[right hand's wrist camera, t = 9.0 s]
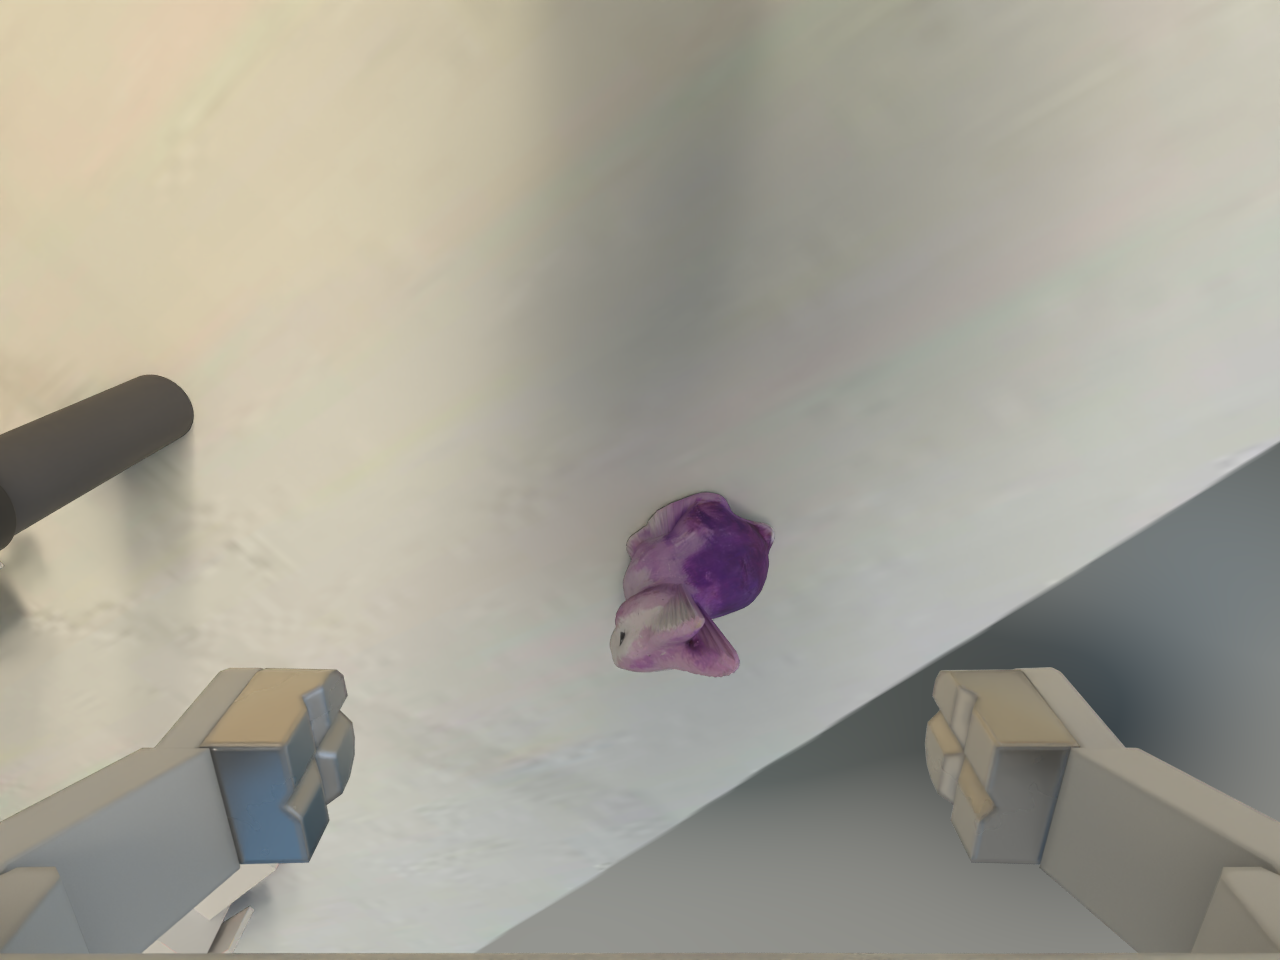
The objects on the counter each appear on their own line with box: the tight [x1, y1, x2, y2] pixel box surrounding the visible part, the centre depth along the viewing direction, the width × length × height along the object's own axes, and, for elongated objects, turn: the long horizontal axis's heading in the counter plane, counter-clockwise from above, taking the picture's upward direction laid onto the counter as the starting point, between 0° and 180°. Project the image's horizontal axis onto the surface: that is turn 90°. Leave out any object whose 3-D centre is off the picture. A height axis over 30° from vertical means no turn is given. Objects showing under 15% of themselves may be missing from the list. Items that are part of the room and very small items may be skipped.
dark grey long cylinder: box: [0, 375, 193, 535], centre depth 44 cm, size 5×5×18 cm
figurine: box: [610, 492, 775, 677], centre depth 50 cm, size 9×10×15 cm
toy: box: [142, 863, 279, 953], centre depth 65 cm, size 12×13×30 cm
